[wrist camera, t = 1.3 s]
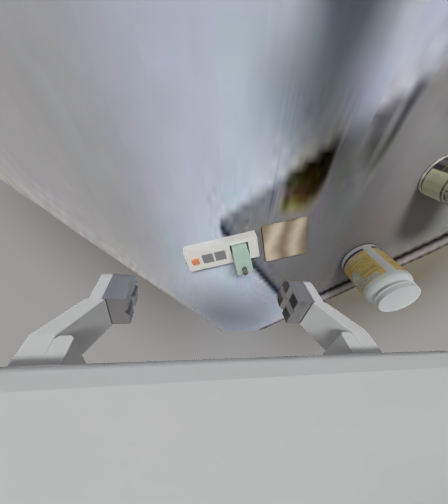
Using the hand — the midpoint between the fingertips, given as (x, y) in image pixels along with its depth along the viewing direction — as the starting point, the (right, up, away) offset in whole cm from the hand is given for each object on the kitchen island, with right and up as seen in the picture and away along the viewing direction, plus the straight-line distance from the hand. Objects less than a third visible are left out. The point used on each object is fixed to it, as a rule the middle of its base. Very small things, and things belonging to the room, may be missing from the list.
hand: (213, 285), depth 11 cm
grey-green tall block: (+5, +4, +46) cm, 46 cm away
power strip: (0, +3, +46) cm, 46 cm away
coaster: (+18, +5, +46) cm, 50 cm away
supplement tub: (+44, 0, +54) cm, 70 cm away
